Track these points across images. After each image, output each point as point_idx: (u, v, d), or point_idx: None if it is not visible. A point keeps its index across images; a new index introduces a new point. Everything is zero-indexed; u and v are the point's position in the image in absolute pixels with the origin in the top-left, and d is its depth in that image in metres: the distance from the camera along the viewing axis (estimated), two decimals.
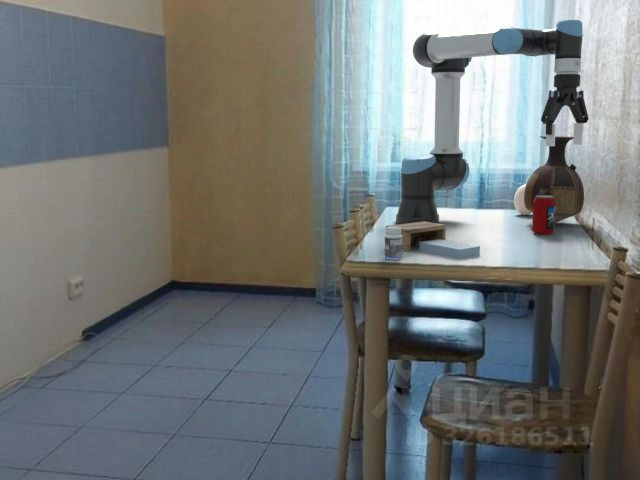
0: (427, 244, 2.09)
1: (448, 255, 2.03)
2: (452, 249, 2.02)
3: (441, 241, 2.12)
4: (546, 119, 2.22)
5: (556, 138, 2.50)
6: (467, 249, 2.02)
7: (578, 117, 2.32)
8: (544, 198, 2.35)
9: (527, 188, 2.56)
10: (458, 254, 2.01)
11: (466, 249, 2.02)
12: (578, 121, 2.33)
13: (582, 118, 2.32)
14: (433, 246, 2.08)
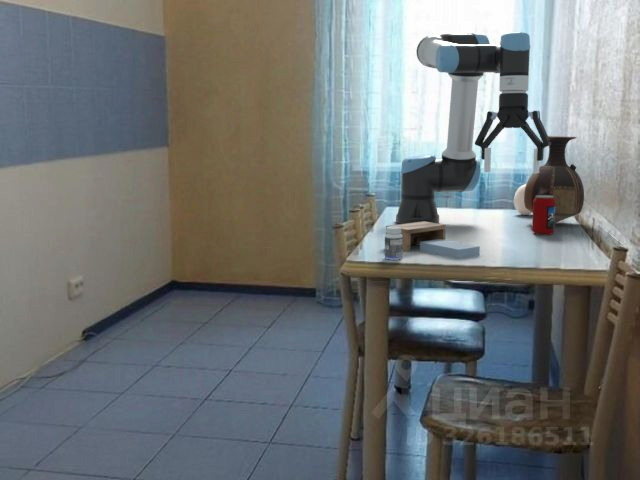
0: (427, 244, 2.10)
1: (447, 255, 2.03)
2: (451, 249, 2.02)
3: (441, 241, 2.12)
4: None
5: (556, 138, 2.50)
6: (466, 249, 2.02)
7: None
8: (544, 198, 2.35)
9: (527, 188, 2.56)
10: (457, 254, 2.01)
11: (465, 249, 2.02)
12: None
13: (536, 143, 1.99)
14: (433, 246, 2.08)
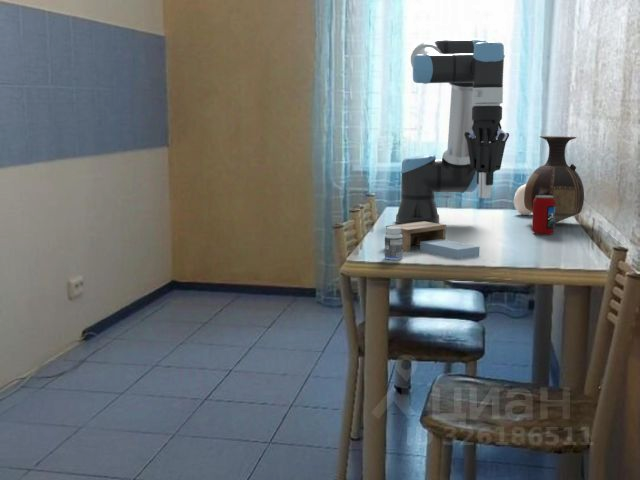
0: (427, 244, 2.10)
1: (447, 255, 2.03)
2: (451, 249, 2.02)
3: (442, 241, 2.12)
4: None
5: (556, 138, 2.50)
6: (466, 249, 2.02)
7: None
8: (544, 198, 2.35)
9: (527, 188, 2.56)
10: (456, 254, 2.00)
11: (465, 249, 2.01)
12: None
13: (486, 166, 1.93)
14: (433, 246, 2.08)
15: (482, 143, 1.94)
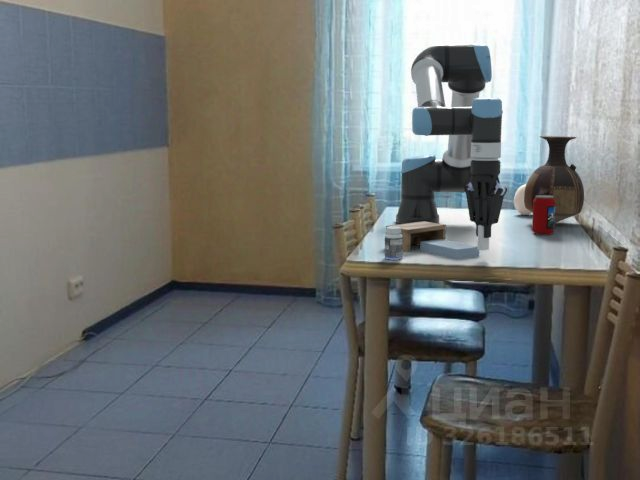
0: (427, 244, 2.10)
1: (446, 255, 2.03)
2: (450, 249, 2.02)
3: (442, 241, 2.13)
4: None
5: (556, 138, 2.50)
6: (465, 249, 2.02)
7: None
8: (544, 198, 2.35)
9: (527, 188, 2.56)
10: (455, 254, 2.00)
11: (464, 249, 2.01)
12: None
13: (484, 219, 1.96)
14: (433, 246, 2.08)
15: (481, 196, 1.97)
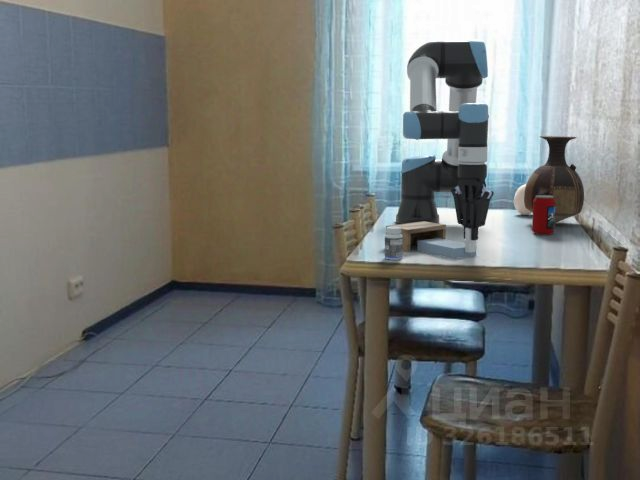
0: (424, 243, 2.10)
1: (444, 254, 2.04)
2: (448, 248, 2.02)
3: (439, 240, 2.13)
4: None
5: (556, 138, 2.50)
6: (463, 248, 2.02)
7: None
8: (544, 198, 2.35)
9: (527, 188, 2.56)
10: (453, 253, 2.01)
11: (462, 248, 2.02)
12: None
13: (471, 221, 2.00)
14: (430, 245, 2.08)
15: (468, 199, 2.00)
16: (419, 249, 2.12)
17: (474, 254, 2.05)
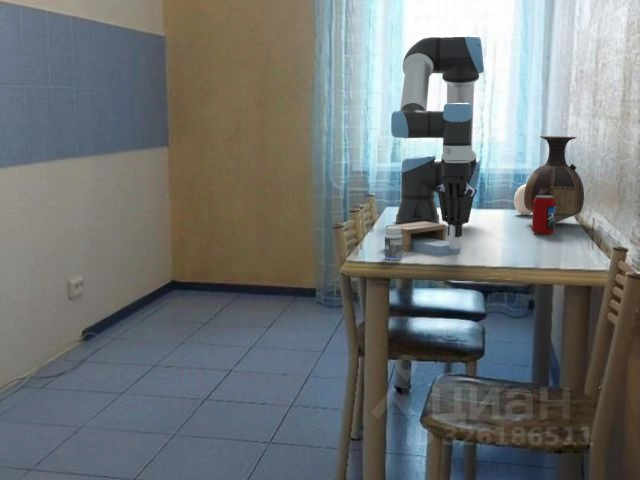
0: None
1: (429, 252, 2.08)
2: (433, 246, 2.06)
3: (423, 239, 2.17)
4: None
5: (556, 138, 2.50)
6: (448, 246, 2.06)
7: None
8: (544, 198, 2.35)
9: (527, 188, 2.56)
10: (439, 251, 2.05)
11: (447, 246, 2.06)
12: None
13: (455, 219, 2.04)
14: (415, 243, 2.12)
15: (452, 197, 2.05)
16: None
17: (458, 252, 2.09)
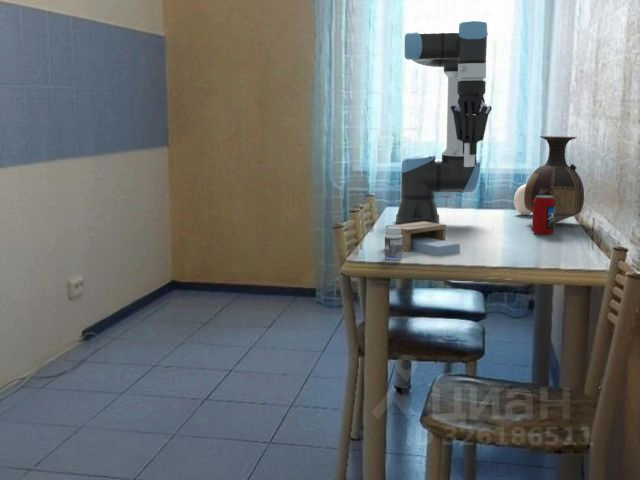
0: None
1: (428, 252, 2.08)
2: (431, 246, 2.06)
3: (424, 238, 2.17)
4: None
5: (556, 138, 2.50)
6: (446, 246, 2.06)
7: None
8: (544, 198, 2.35)
9: (527, 188, 2.56)
10: (436, 251, 2.05)
11: (445, 246, 2.06)
12: None
13: (470, 136, 2.08)
14: (414, 243, 2.12)
15: (467, 115, 2.09)
16: None
17: (457, 252, 2.09)
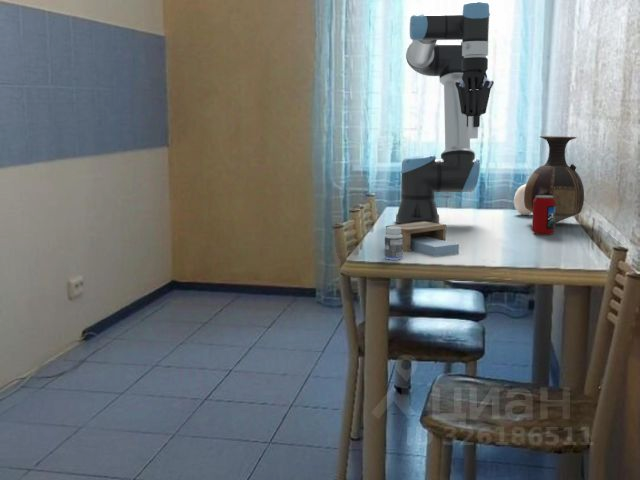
0: None
1: (426, 252, 2.08)
2: (429, 246, 2.06)
3: (425, 238, 2.17)
4: None
5: (556, 138, 2.50)
6: (444, 247, 2.06)
7: None
8: (544, 198, 2.35)
9: (527, 188, 2.56)
10: (434, 251, 2.05)
11: (443, 246, 2.06)
12: None
13: (473, 110, 2.23)
14: (414, 243, 2.13)
15: (471, 90, 2.24)
16: None
17: (456, 252, 2.08)
